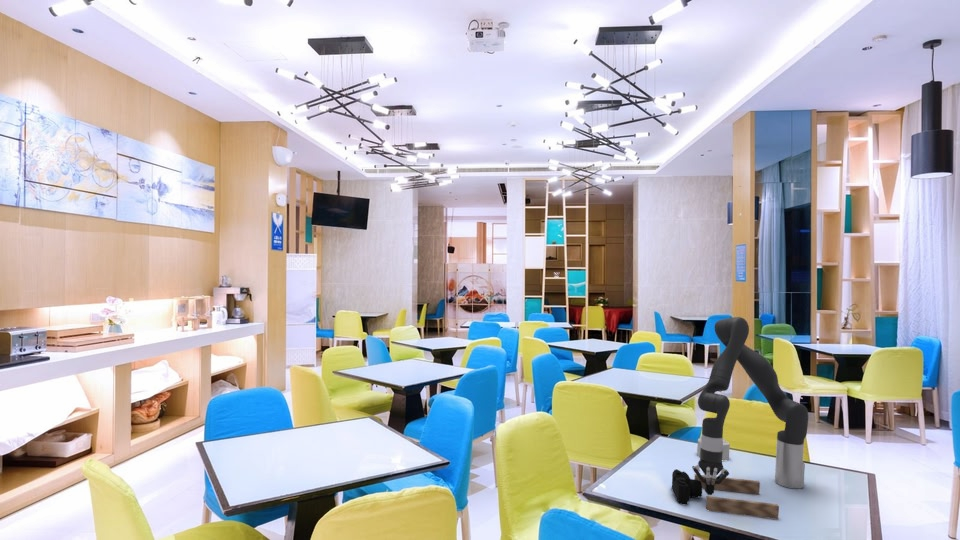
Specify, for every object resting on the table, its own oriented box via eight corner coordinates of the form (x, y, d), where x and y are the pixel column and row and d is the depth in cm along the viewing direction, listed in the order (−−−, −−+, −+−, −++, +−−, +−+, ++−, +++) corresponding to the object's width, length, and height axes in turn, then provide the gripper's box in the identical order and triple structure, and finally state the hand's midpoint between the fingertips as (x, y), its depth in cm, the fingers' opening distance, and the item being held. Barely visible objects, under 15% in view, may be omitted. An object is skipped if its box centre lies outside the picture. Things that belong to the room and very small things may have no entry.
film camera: (705, 507, 186) (706, 482, 186) (676, 504, 188) (677, 479, 188) (695, 489, 201) (697, 466, 201) (669, 486, 203) (670, 463, 203)
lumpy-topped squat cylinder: (731, 460, 233) (732, 441, 232) (704, 461, 231) (705, 441, 231) (718, 452, 243) (719, 433, 243) (692, 452, 242) (693, 433, 241)
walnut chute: (757, 492, 200) (758, 481, 200) (778, 519, 180) (778, 506, 179) (694, 485, 204) (694, 474, 204) (706, 510, 184) (707, 497, 184)
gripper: (727, 445, 195) (725, 491, 196) (690, 442, 198) (688, 487, 198) (733, 452, 188) (731, 500, 188) (694, 449, 190) (692, 496, 191)
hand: (709, 494), depth 193 cm, fingers closed
